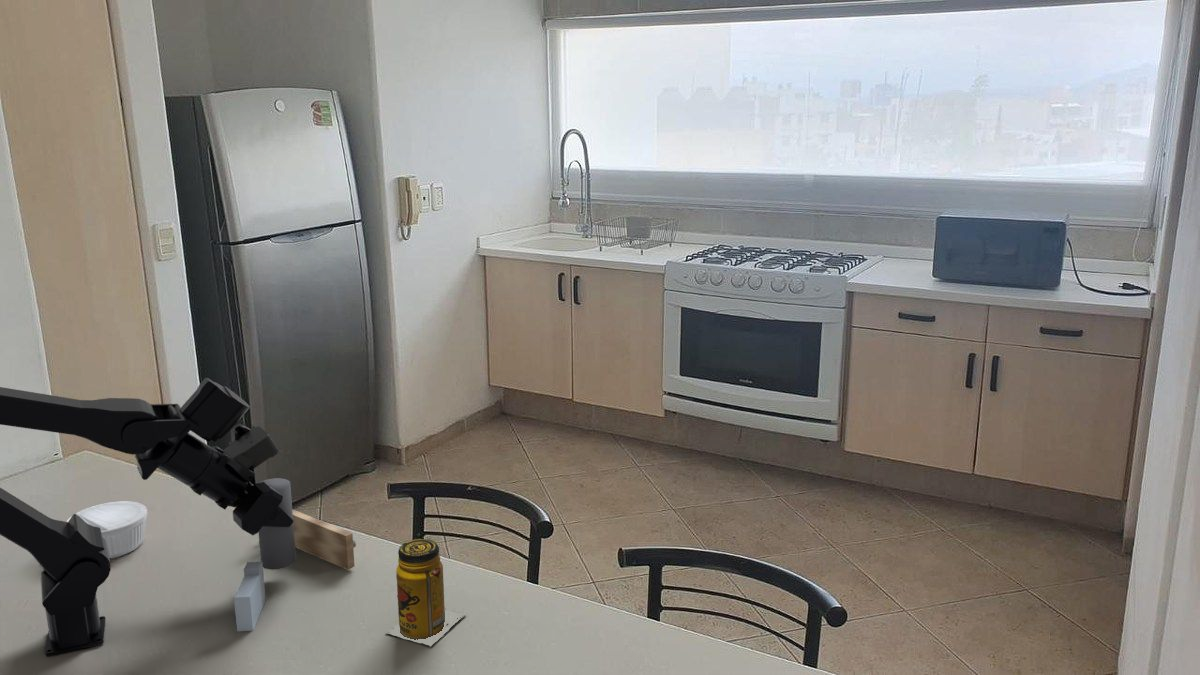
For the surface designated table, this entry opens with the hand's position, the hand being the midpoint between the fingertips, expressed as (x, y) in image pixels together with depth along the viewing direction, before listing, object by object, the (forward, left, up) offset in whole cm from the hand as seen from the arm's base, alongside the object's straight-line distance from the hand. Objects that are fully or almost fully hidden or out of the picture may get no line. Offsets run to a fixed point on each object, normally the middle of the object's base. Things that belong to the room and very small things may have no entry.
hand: (284, 517), depth 129 cm
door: (+4, -5, -9) cm, 11 cm away
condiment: (-21, -15, -10) cm, 27 cm away
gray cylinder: (0, +1, -7) cm, 7 cm away
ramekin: (+21, +24, -10) cm, 34 cm away
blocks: (+1, +3, -9) cm, 10 cm away
